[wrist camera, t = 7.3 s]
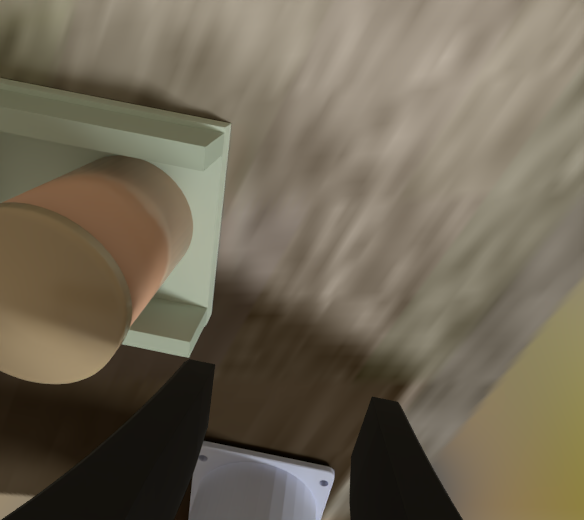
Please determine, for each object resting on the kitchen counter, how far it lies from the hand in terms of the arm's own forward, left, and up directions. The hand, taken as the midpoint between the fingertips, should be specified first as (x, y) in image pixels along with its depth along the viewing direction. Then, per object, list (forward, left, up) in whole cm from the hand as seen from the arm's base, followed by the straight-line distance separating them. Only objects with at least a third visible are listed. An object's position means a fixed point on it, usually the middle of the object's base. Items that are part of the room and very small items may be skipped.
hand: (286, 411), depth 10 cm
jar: (0, +8, -8) cm, 11 cm away
